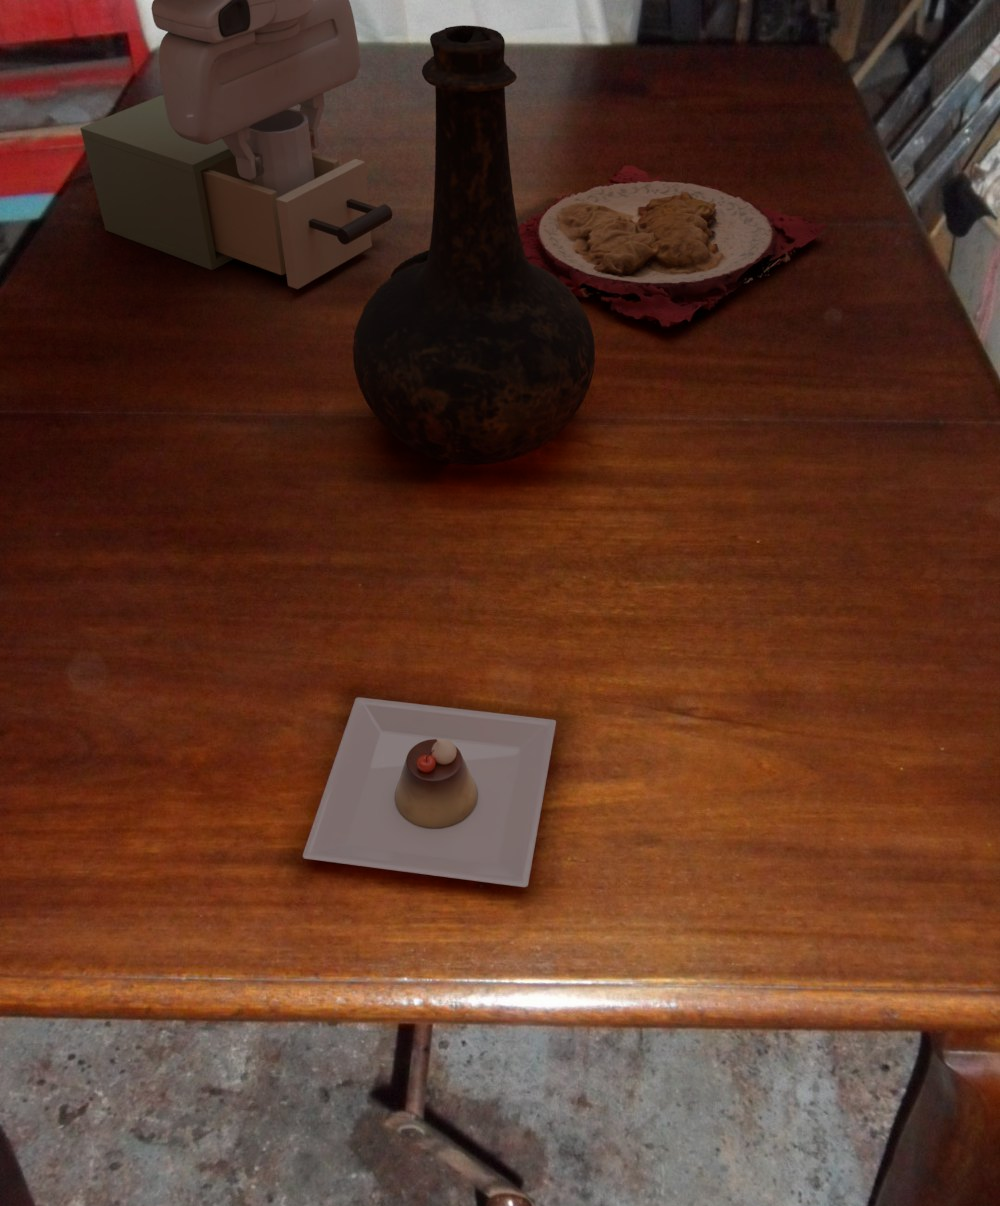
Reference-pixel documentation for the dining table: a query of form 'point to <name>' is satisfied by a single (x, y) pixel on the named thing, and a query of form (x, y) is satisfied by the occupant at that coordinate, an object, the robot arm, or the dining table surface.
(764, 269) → the plate with food
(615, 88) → the dining table surface
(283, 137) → the tin
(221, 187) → the drawer
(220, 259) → the cabinet
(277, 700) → the dining table surface
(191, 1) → the robot arm
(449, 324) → the glass bottle
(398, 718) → the dessert
